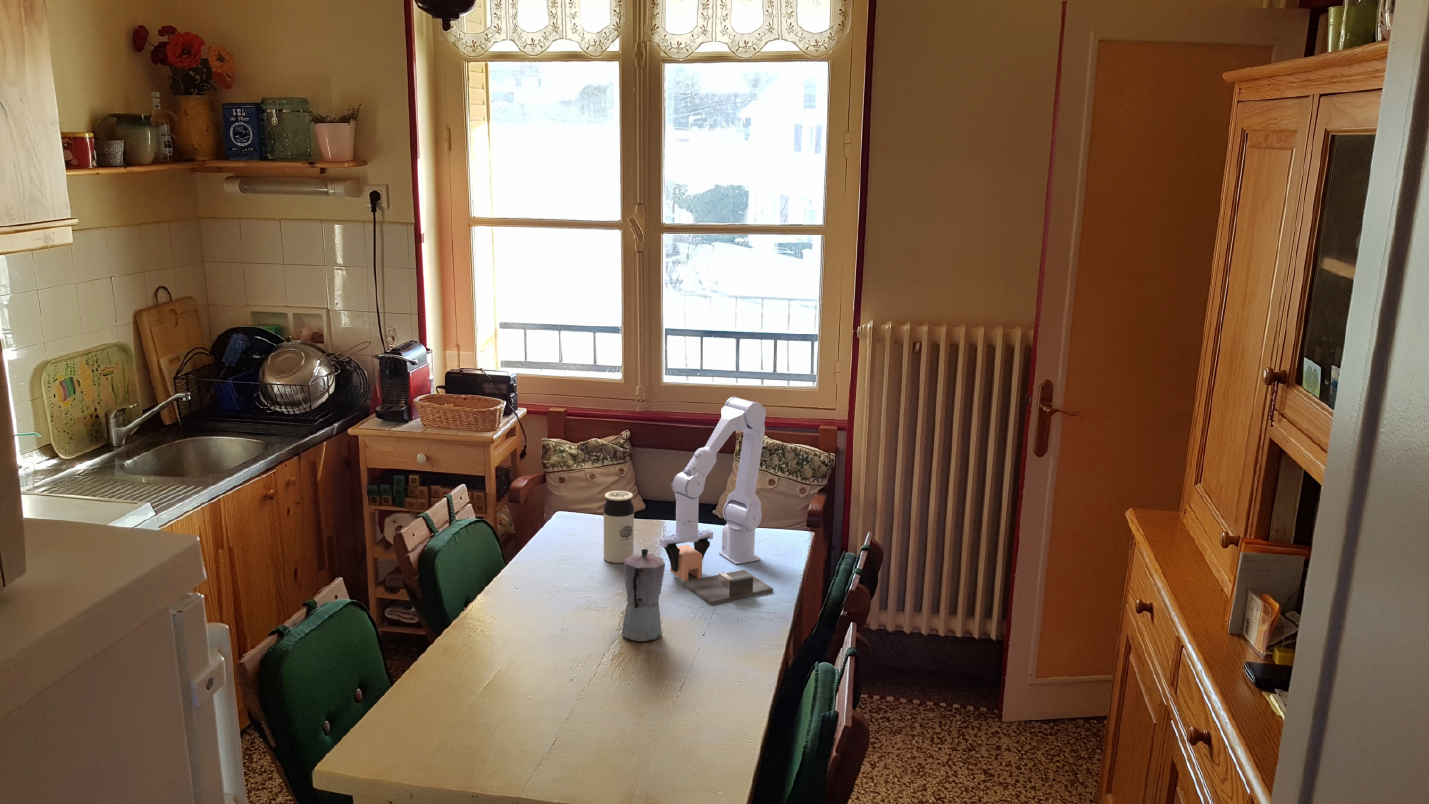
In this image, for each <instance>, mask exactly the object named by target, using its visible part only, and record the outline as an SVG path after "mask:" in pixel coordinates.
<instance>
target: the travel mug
mask: <svg viewBox="0 0 1429 804" xmlns="http://www.w3.org/2000/svg"><path fill="white" fill-rule="evenodd" d="M633 497H634V495H633V492H630V491H627V490H612V491H608V492H606V493H605V494H604V498H605V501H606V502H605V504H604V506H603V559H604V561H607V562H608V563H611V562H612V564H624V563H623V560H624V559H625V558H627V557H630V556H632V555H634V546H635V545H634V542H635V541H634V535H635V533H634V532H635V529H634V528H635V527H634V526H635V525H634V522H635V521H634V520H635V517H634V516H635V505H634V504H633V502H632V499H633Z"/></svg>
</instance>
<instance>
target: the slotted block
mask: <svg viewBox="0 0 1429 804" xmlns="http://www.w3.org/2000/svg"><path fill="white" fill-rule="evenodd" d="M676 546H677V548H679V549H680V552H679V557H678V571H677V572H674V571H673V570H671V566H670V570H669V571H670V572H671V573H672V574H674V575H675V576H676V577H678V578H680V579H681V580H682V581H688V580H689V574H691V575H693V576H694V577H695V579H698V578H703V561H702V554H701V553H699V552H698V551H696V550H695V549H694V547H692V546H690V545H689V544H685V545H676Z"/></svg>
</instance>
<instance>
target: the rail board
mask: <svg viewBox="0 0 1429 804" xmlns="http://www.w3.org/2000/svg"><path fill="white" fill-rule="evenodd" d="M682 581H683V580H682ZM682 583H683V584H682V585H683V587H685V588H686V589H688V590H689V591H691V592H692V593H693V594H695V595H696V596H697V597H698V598H700V599H701V600H702V601H704V602H705V603H707V605H709V606H711V605H718V604H722V603H726V602H731V601H736V600H742V599H747V598H751V597H756V595H757V596H760V595H765V594H771V593H774V587H771V586H770V585H769V584H768V583H765V582H764V581H763V580H761V579H760V578H758V577H756V576H755V575H753V574H752V573H750V572H748V571H747V570H745V569H741V570H736V571H731V572H730V571H729V572H724V571H722V572H718V574H715V575H710V576H705V577H703V576H702V578H693V579H688V581H683V582H682Z"/></svg>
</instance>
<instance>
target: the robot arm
mask: <svg viewBox="0 0 1429 804" xmlns="http://www.w3.org/2000/svg"><path fill="white" fill-rule="evenodd" d="M720 413H721V417H720V418H719V421H718V423H717V424H716V426H715V428H714V430H713V431H712V434H711V435H710V437H709V438H708V440H707V442H706V444H705V445H704V446H703V447H699V448H698V449H696V451H695V452H694V453H693V456H692V458H690V460H689V462H688V463H687V465H686V467H685V468H684V469H683V471H680V472H679V473H677V474H676V475H675V476H674V478H673V480H672V483H671V484H670V485H671V489H672V491H673V492H674V498H675V500H676V501H675V507H676V508H675V533H672V534H669V535H666V536H663V537H660V538H659V545H660V546H661V547H662V548H663V549H664V551H665V552H666V554H667V557H668V560H669V564H670V567H671V570H673V571H674V572H677V571H678V557H679V552H680V549H679V548H677V546H678V545H679V544H685V543H693V549H695V550H696V551H698V552H699V553H701V554H702V562H703V560H704V557H705V554H706V553H707V551H708V549H709V547H710V546H711V541H709V540H713V539H714V531H712V530H710V529H707V530H706V529H705V530H704V529H703V530H699V503H700V502H699V498H700V497H699V496H701V494H702V493H703V492H704V489H705V484H706V480H707V476H708V475H709V473H710V472H711V470H712V469H713V467H714V466H715V465H716V463H717V453H719V451H720V449H721V448H722V447H723V446H724V444H725V443H726V442H727V441H728V439H729V438H730V436H732V434H733V432H735V431H736V432H737V431H741V432H742V433H743V438H742V443H741V449H740V456H739V461H738V468H737V475H736V481H735V489H734V490H733V491H732V492H730V493H729V494H727V498H726V502H725V504H724V505H723V508H722V516H723V519H724V520H725V521H726V524H725V525H724V526H723V527H722V532H721V550H720V551H718V554H719V555H721V556H722V557H724V558H725V559H727V560H729V561H730V562H731V563H733V564H735V565H740V564H746V563H751V562H756V561H760V560H761V557H760V556H758V555H757V554H755V546H756V545H755V542H756V541H755V540H756V539H755V538H756V529H757V528H758V527H759V525H760V524H761V521H762V517H763V516H762V515H763V514H762V502H761V500H760V498H759V497H758V495H757V494H756V489H757V483H758V477H759V470H760V463H761V457H762V451H763V445H764V440H765V439H764V438H765V434H766V433H765V432H766V425H765V422H766V421H765V420H766V417H767V410H766V409H765V408H764V406H763V405H762V404H761V403H760V402H756V401H752V400H751V401H750V400H747V399H744V398H739V397H737V396H731V397H729V398H728V399H727V400H726V401H725V404H724V406H723V407H721V410H720Z"/></svg>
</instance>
